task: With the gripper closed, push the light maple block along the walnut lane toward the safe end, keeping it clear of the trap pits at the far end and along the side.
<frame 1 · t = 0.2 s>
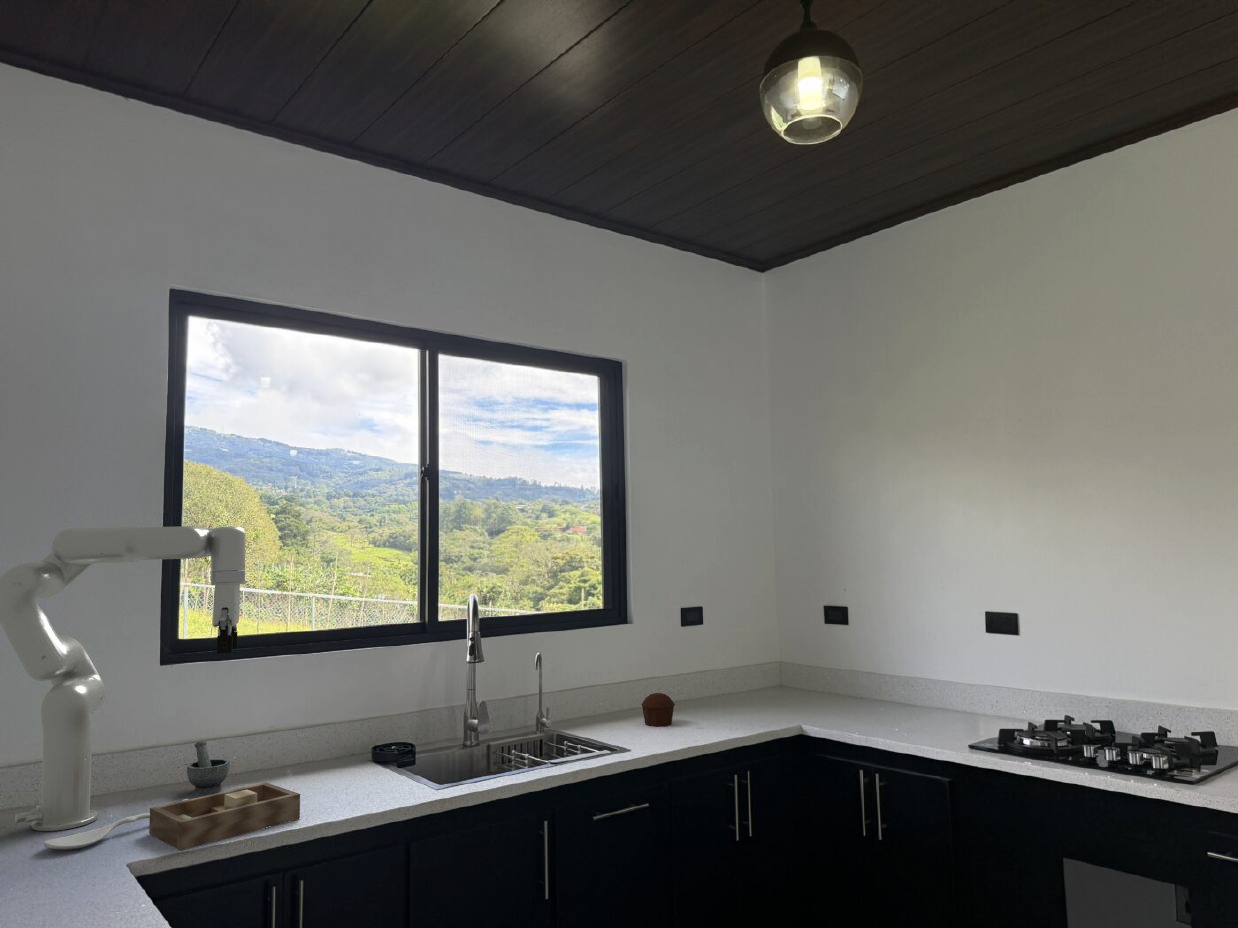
hand: (227, 650, 210), 37 cm above the worktop, tool pointing down, fingers open, 9 cm apart
mortar and pestle: (206, 791, 223), on the worktop
spoon: (126, 834, 191), on the worktop
muffin: (658, 724, 295), on the worktop
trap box: (226, 826, 194), on the worktop
maple block: (240, 812, 194), point 3 cm above the worktop, touching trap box
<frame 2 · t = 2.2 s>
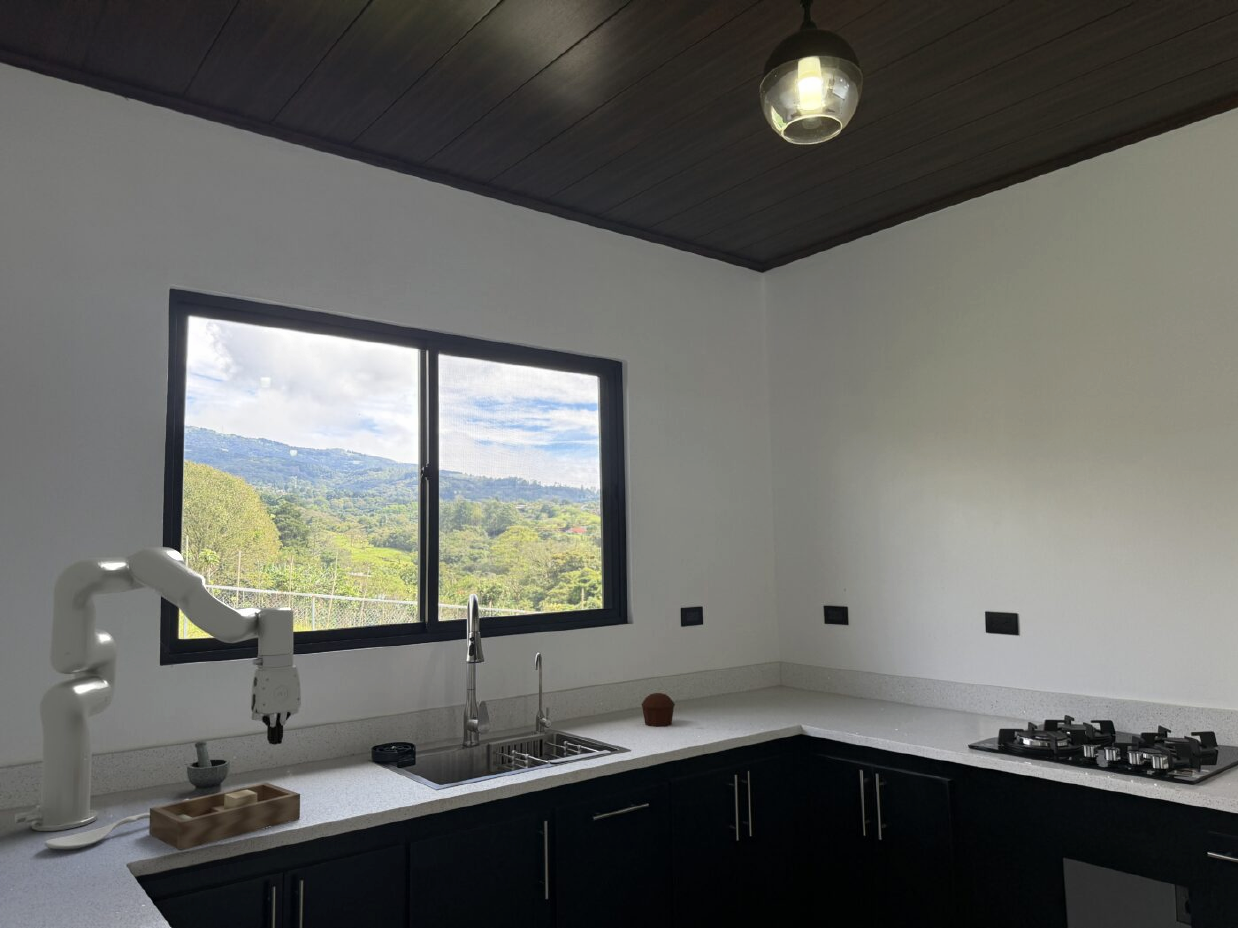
hand: (275, 743, 201), 17 cm above the worktop, tool pointing down, fingers closed
nothing on the worktop moved.
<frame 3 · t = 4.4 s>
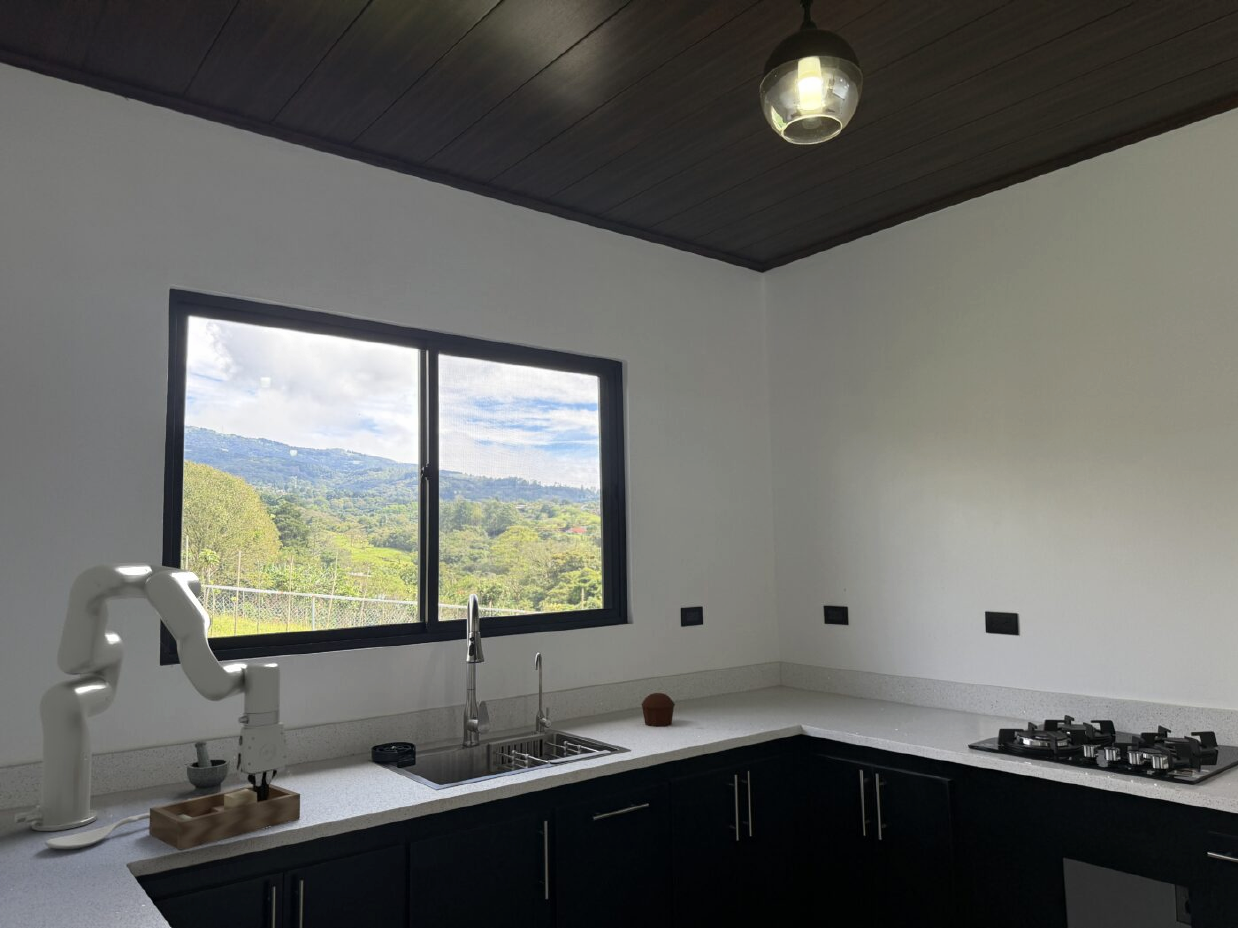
hand: (260, 802, 197), 4 cm above the worktop, tool pointing down, fingers closed
maple block: (240, 811, 194), point 3 cm above the worktop, touching gripper, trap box
everything else where it was.
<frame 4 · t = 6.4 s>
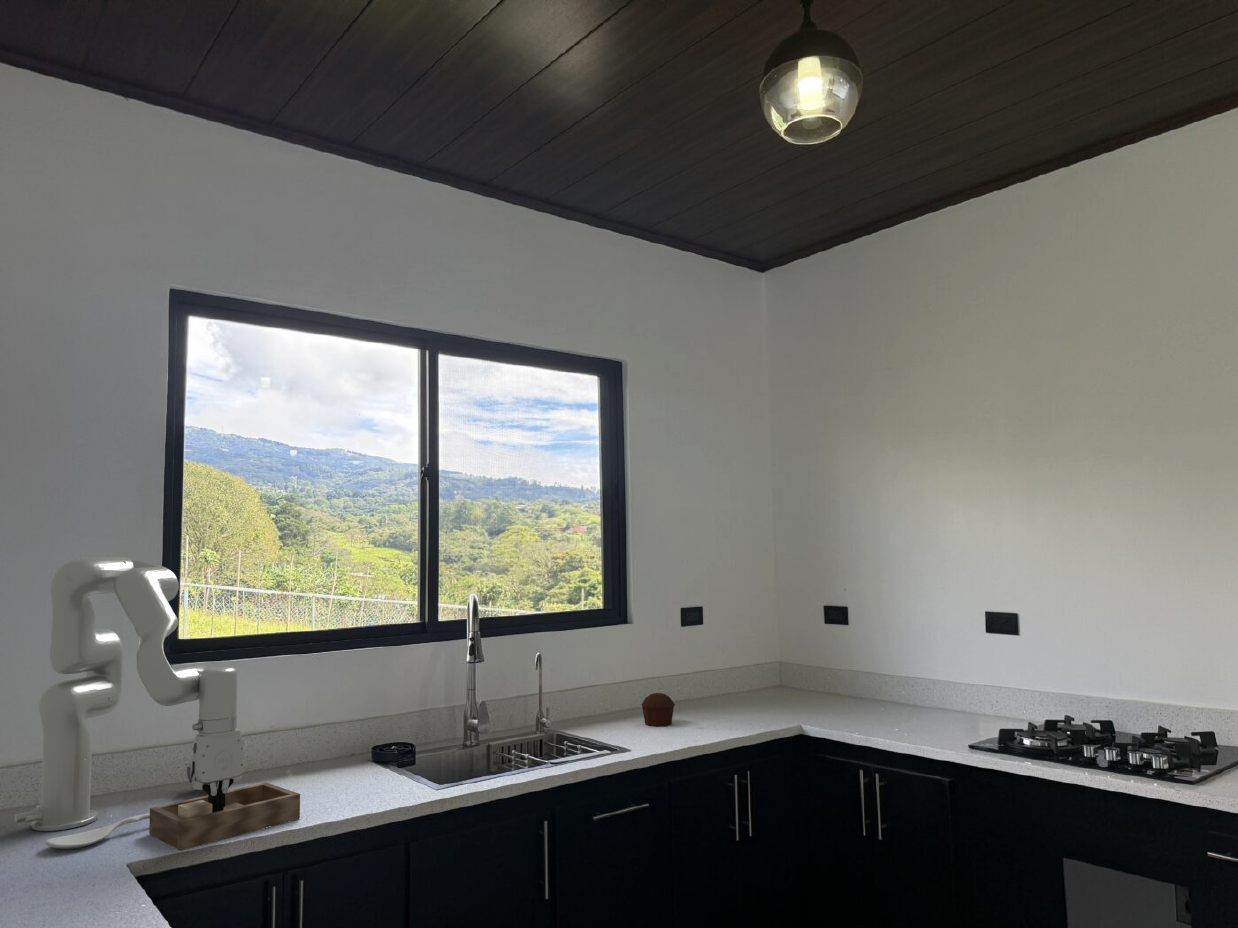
hand: (216, 812, 190), 4 cm above the worktop, tool pointing down, fingers closed
maple block: (194, 824, 186), point 3 cm above the worktop, touching gripper
everything else where it was.
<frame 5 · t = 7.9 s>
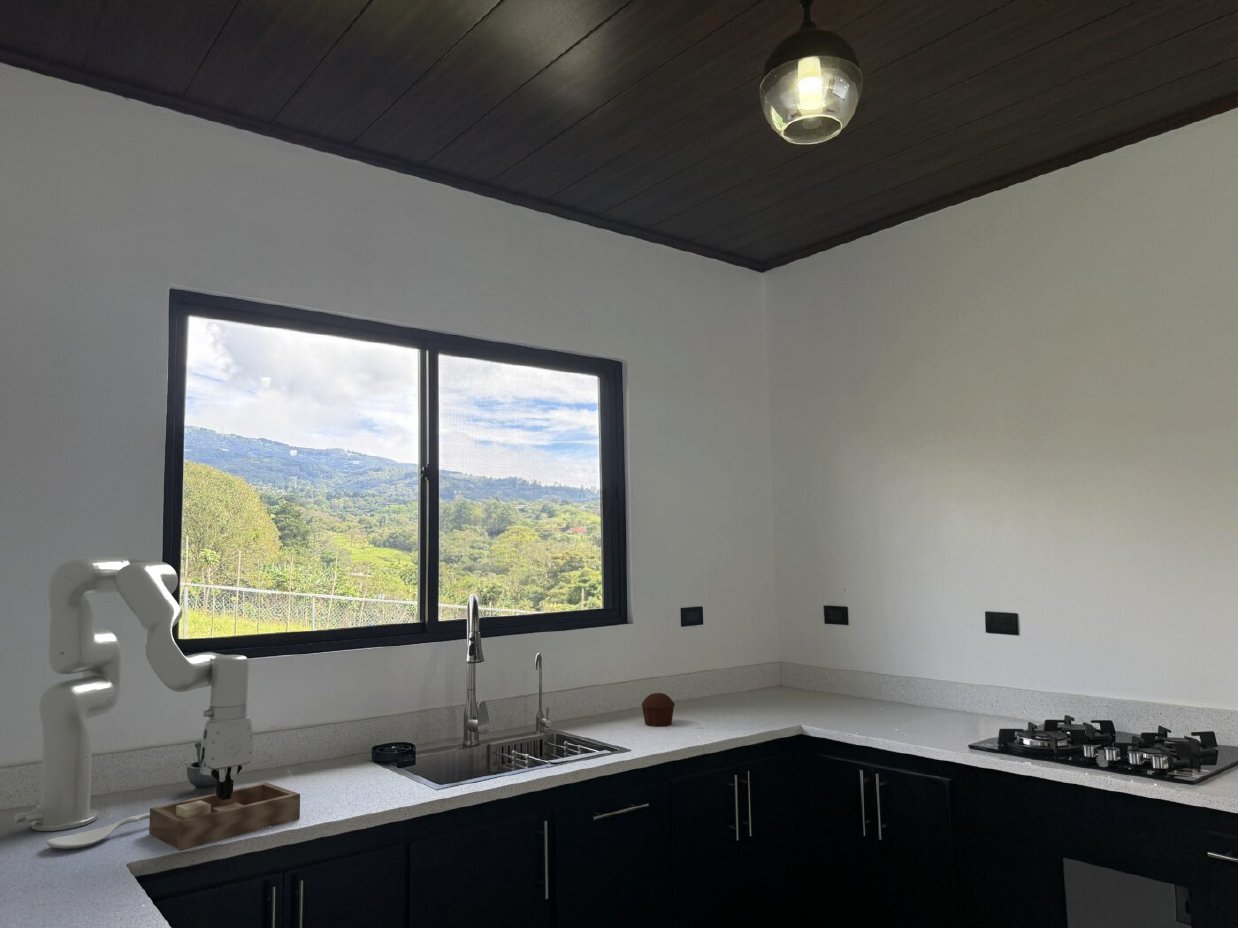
hand: (224, 798, 192), 7 cm above the worktop, tool pointing down, fingers closed
maple block: (193, 824, 186), point 3 cm above the worktop, touching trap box
everything else where it was.
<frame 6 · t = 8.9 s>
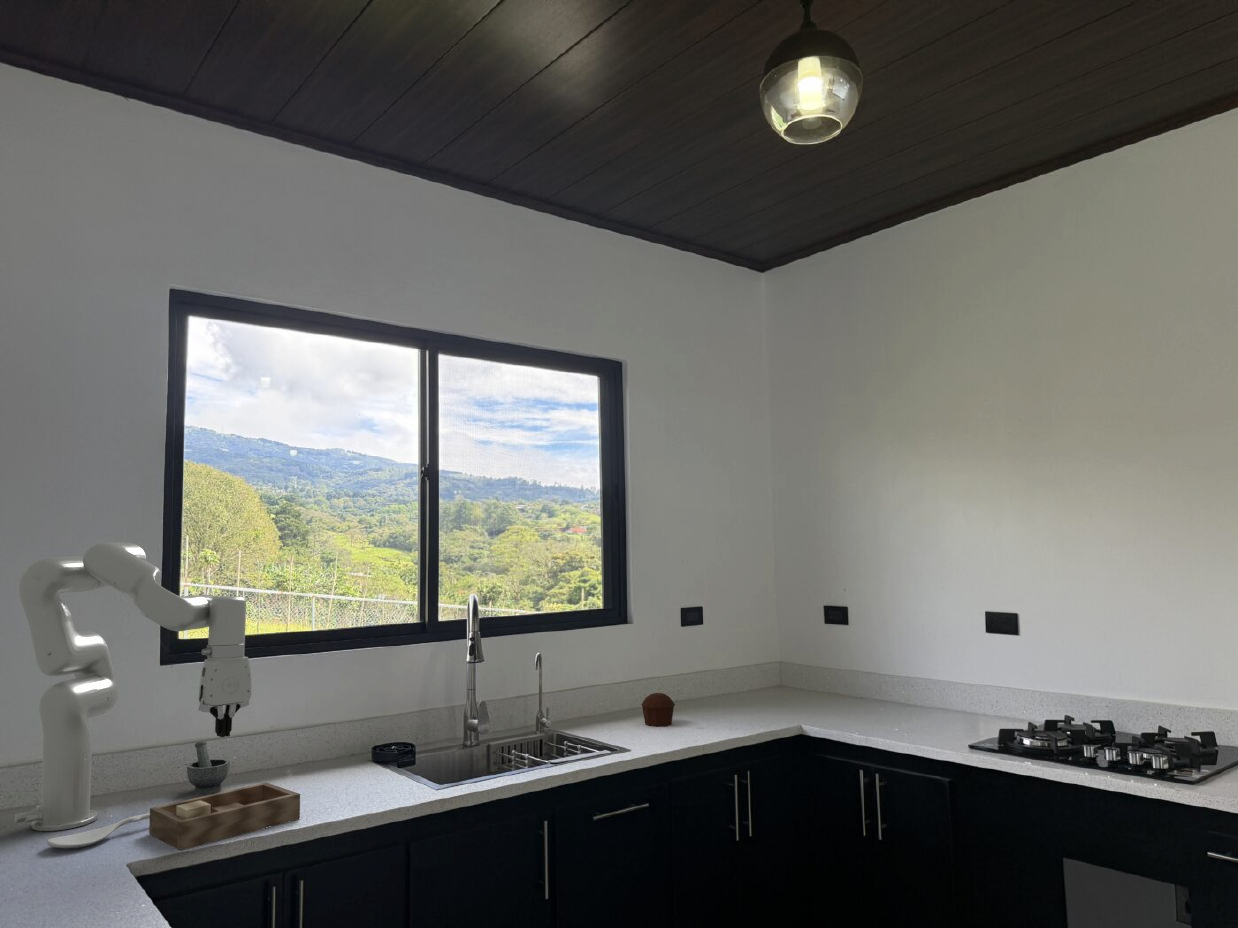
hand: (223, 735, 196), 20 cm above the worktop, tool pointing down, fingers closed
nothing on the worktop moved.
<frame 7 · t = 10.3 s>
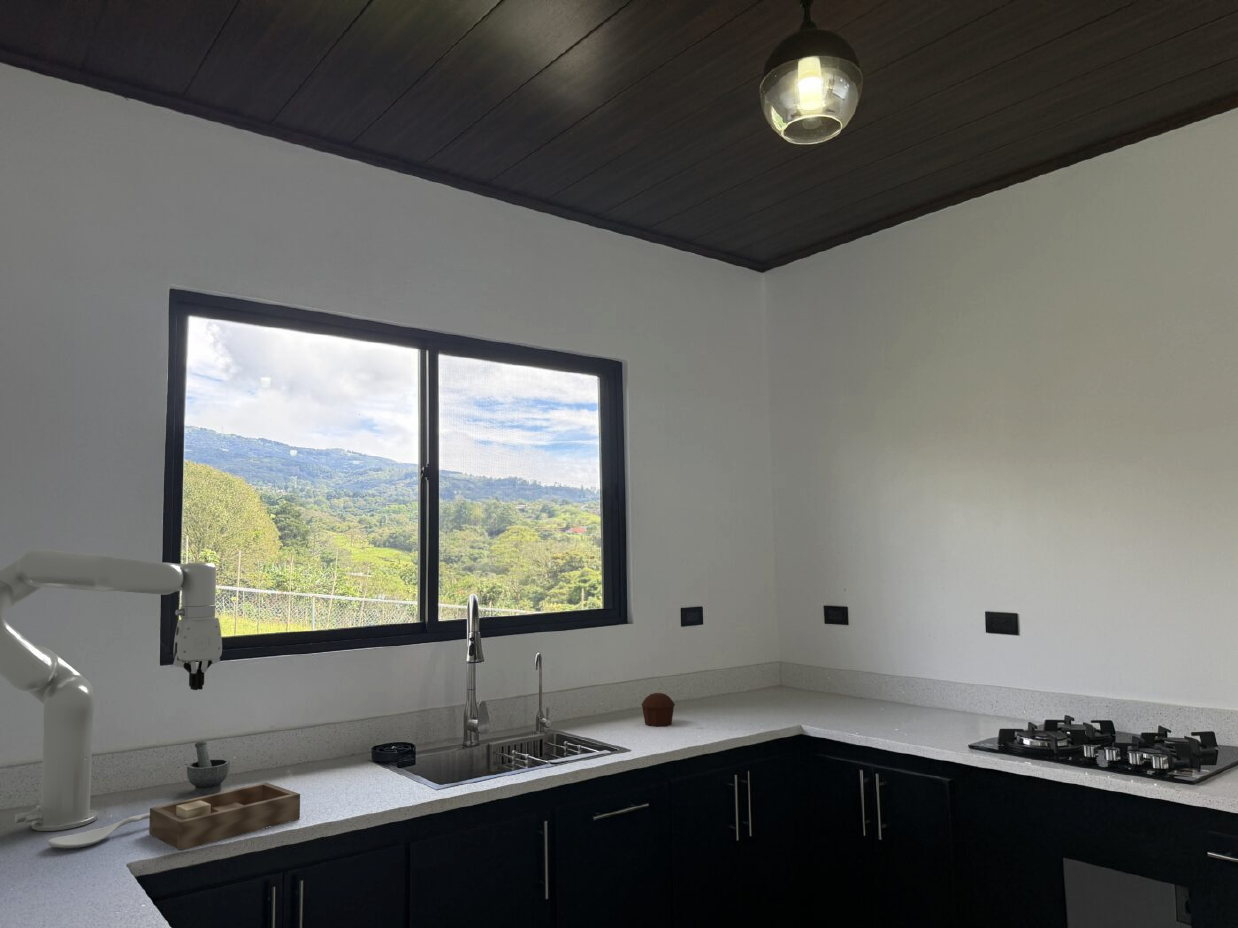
hand: (196, 688, 214), 27 cm above the worktop, tool pointing down, fingers closed
nothing on the worktop moved.
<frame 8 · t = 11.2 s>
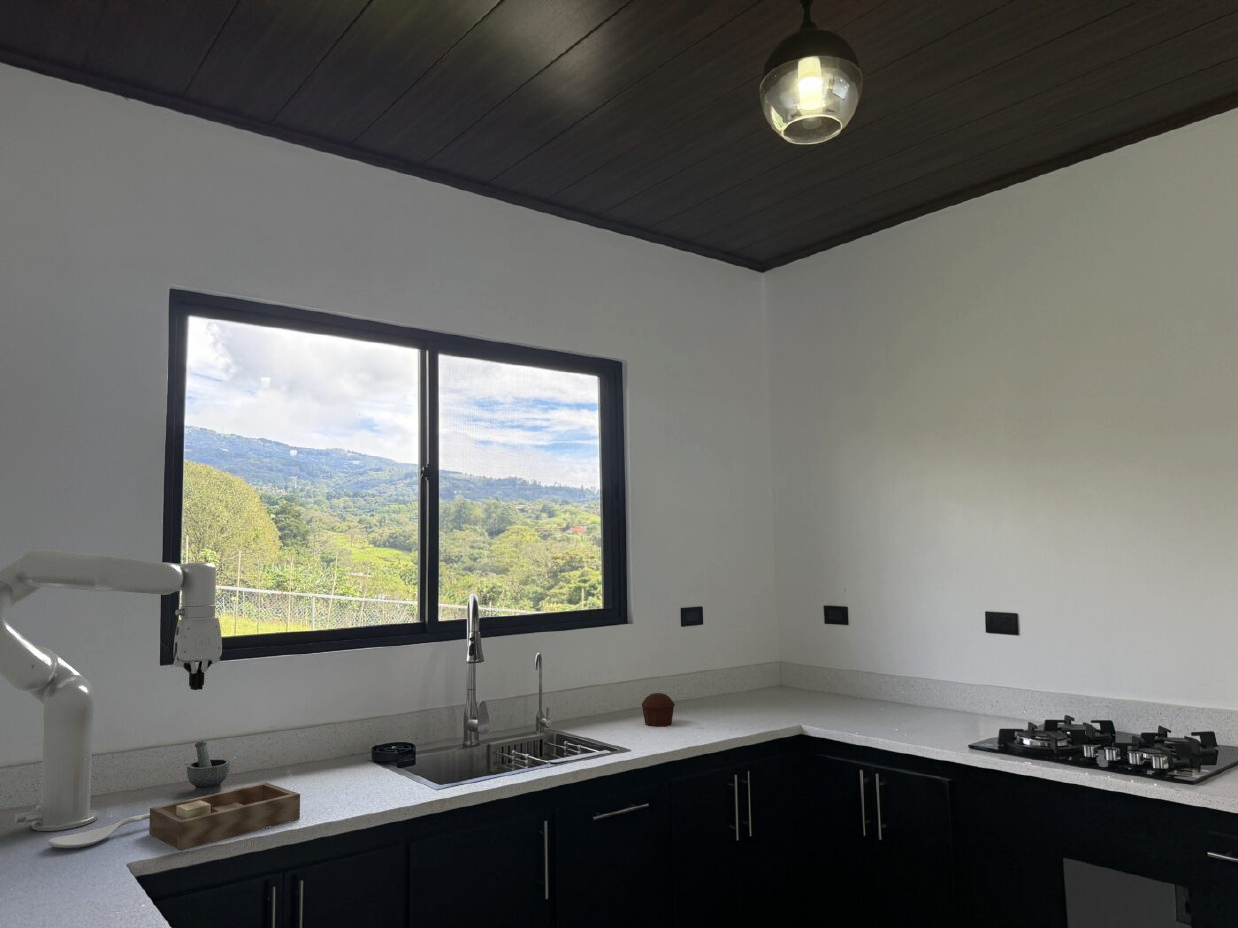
hand: (196, 688, 214), 27 cm above the worktop, tool pointing down, fingers closed
at the end: maple block 0.9 cm from the target spot on the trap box, point 3.0 cm above the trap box's base; maple block tilted 0°; maple block moved 10.4 cm from its start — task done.
